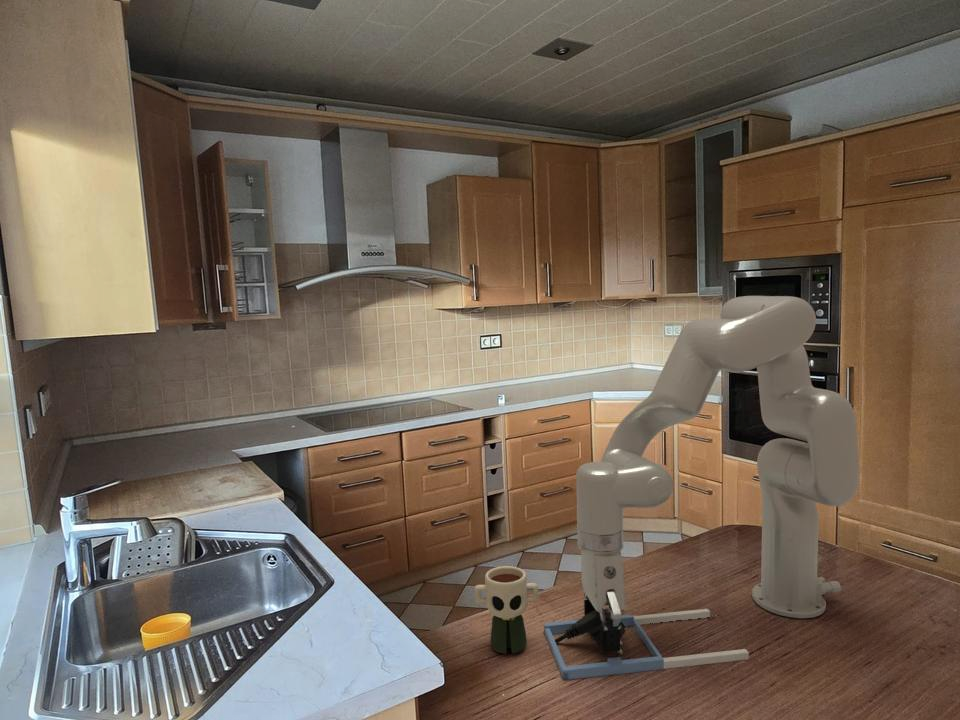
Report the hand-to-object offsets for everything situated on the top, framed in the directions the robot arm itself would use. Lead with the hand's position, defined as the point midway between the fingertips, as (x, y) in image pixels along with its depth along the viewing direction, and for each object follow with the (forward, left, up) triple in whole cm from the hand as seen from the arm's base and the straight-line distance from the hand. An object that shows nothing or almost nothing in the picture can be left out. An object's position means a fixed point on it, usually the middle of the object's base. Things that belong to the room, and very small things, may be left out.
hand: (601, 634), depth 105 cm
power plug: (+2, -1, -3) cm, 4 cm away
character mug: (+16, -3, -3) cm, 16 cm away
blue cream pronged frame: (-7, 0, -3) cm, 7 cm away
